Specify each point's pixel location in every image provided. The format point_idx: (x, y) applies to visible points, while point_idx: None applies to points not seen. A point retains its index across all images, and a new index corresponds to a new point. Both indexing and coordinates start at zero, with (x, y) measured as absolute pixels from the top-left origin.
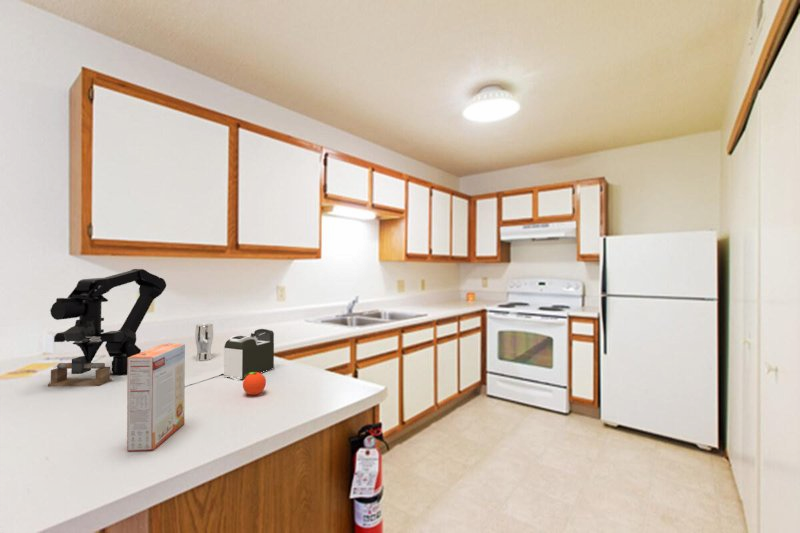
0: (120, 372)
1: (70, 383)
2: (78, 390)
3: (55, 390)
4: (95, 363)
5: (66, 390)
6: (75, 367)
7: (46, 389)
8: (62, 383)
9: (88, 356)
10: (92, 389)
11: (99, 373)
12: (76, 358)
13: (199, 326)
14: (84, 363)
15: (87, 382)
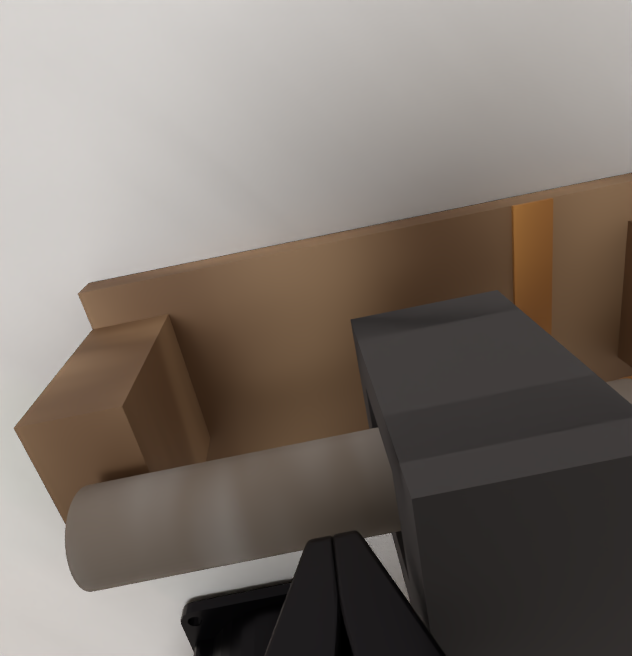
0: (256, 615)
1: (444, 233)
2: (160, 82)
3: (465, 30)
4: (198, 534)
5: (320, 55)
6: (478, 353)
7: (615, 51)
8: (537, 207)
9: (318, 644)
10: (22, 152)
11: (78, 386)
12: (601, 518)
13: None
14: None
15: (271, 303)
